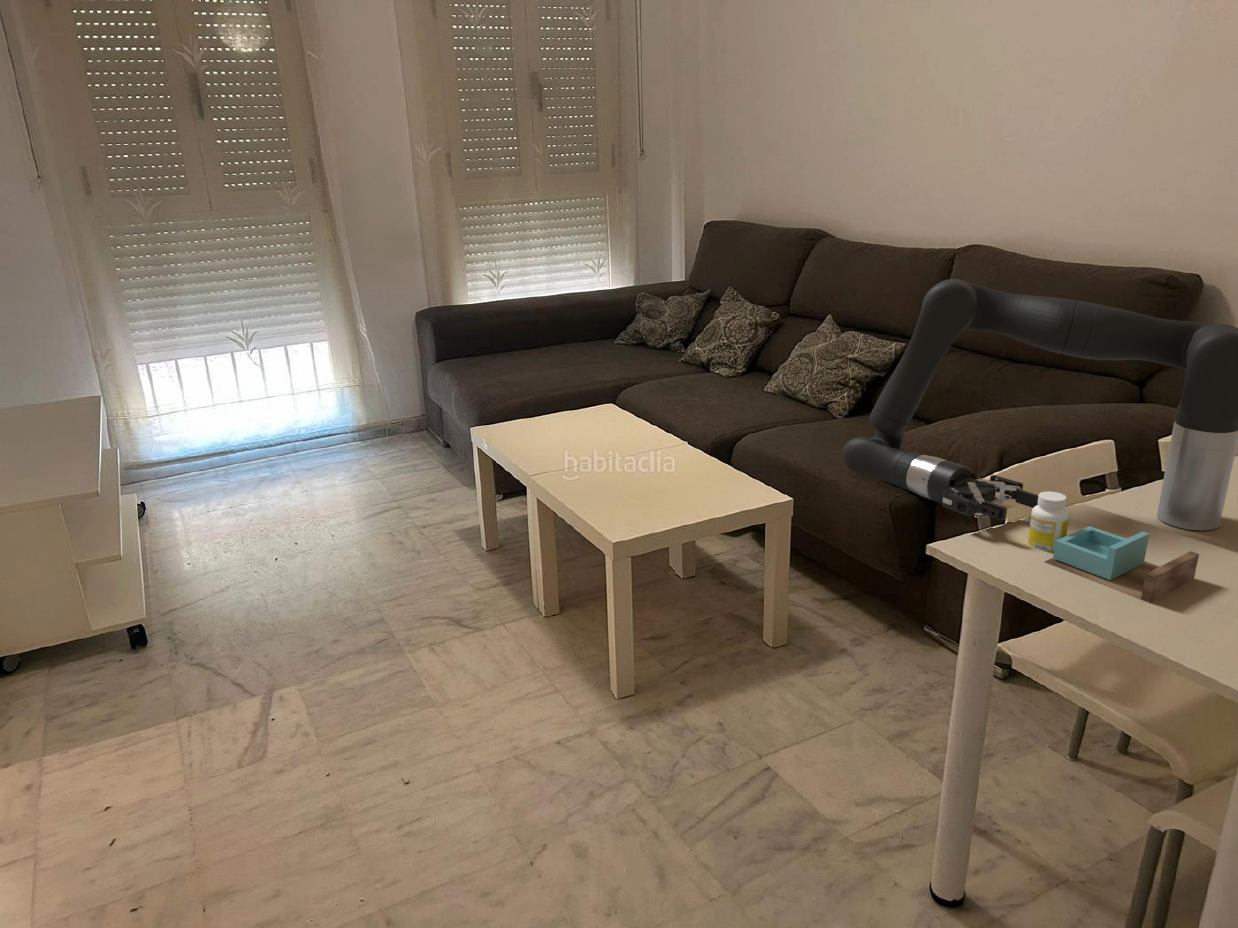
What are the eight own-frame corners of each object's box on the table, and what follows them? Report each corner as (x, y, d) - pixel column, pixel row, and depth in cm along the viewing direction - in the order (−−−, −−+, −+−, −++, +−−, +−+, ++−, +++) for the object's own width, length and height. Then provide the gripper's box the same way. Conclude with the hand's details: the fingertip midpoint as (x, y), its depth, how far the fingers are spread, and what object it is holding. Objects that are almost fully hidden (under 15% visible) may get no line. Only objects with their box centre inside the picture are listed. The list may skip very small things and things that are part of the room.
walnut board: (1087, 550, 144) (1092, 518, 142) (1192, 587, 131) (1199, 553, 129) (1042, 570, 138) (1047, 537, 136) (1147, 612, 125) (1154, 576, 123)
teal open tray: (1086, 543, 142) (1091, 514, 140) (1143, 563, 135) (1149, 533, 133) (1053, 558, 137) (1057, 528, 136) (1110, 580, 130) (1115, 549, 129)
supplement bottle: (1053, 544, 146) (1061, 488, 143) (1070, 559, 141) (1079, 501, 138) (1020, 545, 146) (1028, 490, 143) (1036, 560, 141) (1044, 503, 138)
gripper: (914, 469, 154) (996, 497, 141) (967, 452, 161) (1051, 477, 148) (910, 509, 156) (991, 540, 143) (963, 490, 163) (1045, 518, 150)
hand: (1021, 508), depth 145 cm, fingers open, 8 cm apart
